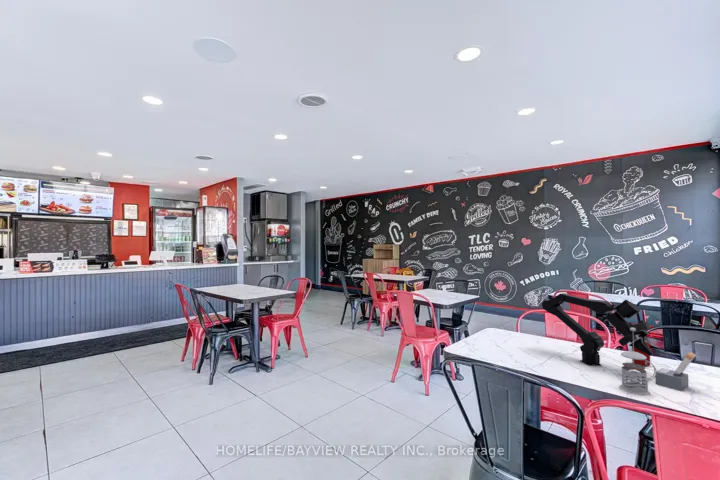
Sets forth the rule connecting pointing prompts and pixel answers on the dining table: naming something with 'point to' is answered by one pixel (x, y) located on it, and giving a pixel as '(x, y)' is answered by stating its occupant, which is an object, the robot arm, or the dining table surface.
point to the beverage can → (642, 362)
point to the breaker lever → (685, 362)
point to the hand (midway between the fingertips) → (651, 354)
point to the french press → (635, 373)
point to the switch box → (671, 379)
